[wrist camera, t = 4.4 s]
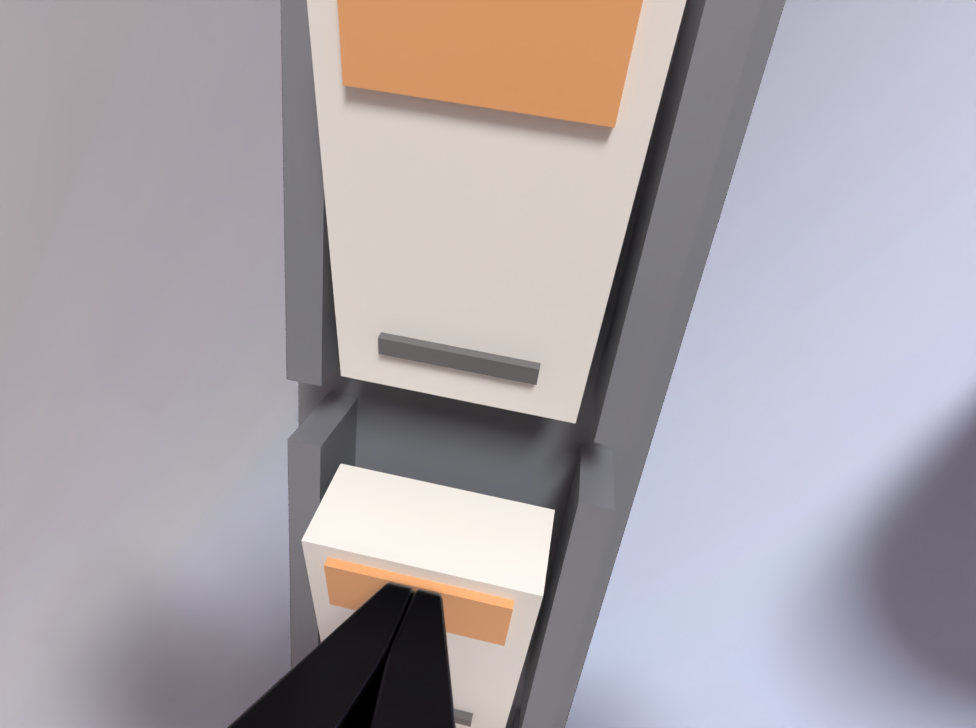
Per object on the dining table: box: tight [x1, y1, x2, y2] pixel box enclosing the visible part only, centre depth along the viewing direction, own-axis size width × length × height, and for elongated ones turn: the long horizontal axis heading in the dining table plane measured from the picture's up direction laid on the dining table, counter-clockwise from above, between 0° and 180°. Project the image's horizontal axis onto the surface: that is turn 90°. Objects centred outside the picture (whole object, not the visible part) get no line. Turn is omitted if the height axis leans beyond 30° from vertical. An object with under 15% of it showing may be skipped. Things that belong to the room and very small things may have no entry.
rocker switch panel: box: [281, 0, 786, 728], centre depth 15 cm, size 30×7×6 cm, turn 172°
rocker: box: [307, 0, 686, 424], centre depth 8 cm, size 6×4×2 cm, turn 173°
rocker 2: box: [301, 464, 555, 728], centre depth 12 cm, size 6×4×2 cm, turn 173°
